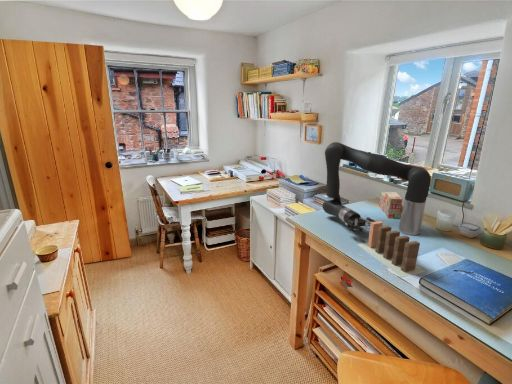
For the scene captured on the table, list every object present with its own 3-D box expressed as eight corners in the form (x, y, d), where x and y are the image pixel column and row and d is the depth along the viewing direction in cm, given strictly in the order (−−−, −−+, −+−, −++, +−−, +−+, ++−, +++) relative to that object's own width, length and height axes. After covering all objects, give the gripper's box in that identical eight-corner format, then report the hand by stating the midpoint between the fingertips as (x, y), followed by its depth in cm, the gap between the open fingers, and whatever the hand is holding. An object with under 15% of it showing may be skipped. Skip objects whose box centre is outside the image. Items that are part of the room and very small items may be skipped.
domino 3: (391, 263, 117) (395, 236, 113) (401, 261, 118) (405, 235, 115) (395, 265, 115) (399, 239, 112) (405, 263, 117) (409, 237, 113)
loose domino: (367, 246, 131) (370, 222, 127) (376, 244, 132) (380, 220, 128) (370, 248, 129) (373, 224, 125) (379, 246, 130) (383, 222, 127)
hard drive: (474, 270, 111) (455, 253, 123) (452, 269, 112) (436, 253, 123) (473, 273, 111) (454, 257, 123) (451, 273, 112) (435, 256, 124)
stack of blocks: (378, 205, 183) (381, 187, 179) (388, 206, 182) (391, 187, 178) (387, 218, 163) (391, 198, 159) (399, 219, 162) (402, 198, 158)
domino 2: (382, 257, 122) (386, 231, 118) (392, 255, 123) (396, 230, 119) (386, 259, 120) (390, 233, 116) (396, 257, 121) (400, 232, 117)
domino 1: (375, 251, 126) (378, 226, 122) (384, 249, 128) (388, 225, 124) (378, 253, 124) (381, 228, 121) (387, 251, 126) (391, 227, 122)
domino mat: (357, 245, 133) (357, 244, 132) (378, 241, 136) (378, 240, 136) (400, 277, 108) (401, 276, 108) (425, 272, 111) (425, 271, 111)
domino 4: (400, 269, 112) (405, 242, 109) (410, 267, 114) (415, 240, 110) (404, 272, 111) (409, 245, 107) (414, 270, 112) (420, 243, 108)
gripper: (338, 211, 143) (358, 224, 129) (361, 208, 147) (384, 220, 133) (336, 225, 146) (356, 239, 131) (360, 221, 150) (381, 234, 135)
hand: (370, 229), depth 132 cm, fingers open, 8 cm apart
